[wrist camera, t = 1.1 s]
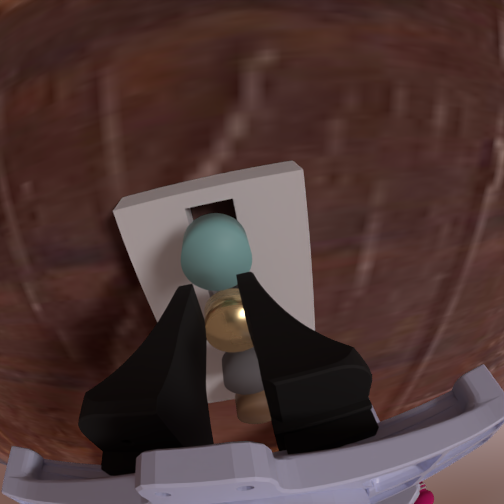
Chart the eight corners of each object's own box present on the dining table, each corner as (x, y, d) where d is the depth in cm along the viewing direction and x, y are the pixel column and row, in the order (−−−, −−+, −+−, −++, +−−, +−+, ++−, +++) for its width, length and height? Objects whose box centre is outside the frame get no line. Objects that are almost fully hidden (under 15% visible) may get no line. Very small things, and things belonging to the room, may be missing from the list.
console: (309, 362, 31) (316, 380, 29) (198, 385, 31) (199, 404, 28) (292, 160, 21) (303, 169, 18) (122, 197, 20) (112, 211, 18)
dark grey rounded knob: (267, 349, 25) (277, 388, 22) (225, 358, 25) (229, 398, 21) (261, 318, 23) (271, 359, 20) (215, 328, 23) (218, 370, 20)
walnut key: (273, 382, 28) (282, 418, 24) (236, 390, 28) (241, 426, 24) (269, 359, 26) (278, 398, 22) (228, 368, 26) (233, 407, 22)
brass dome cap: (258, 305, 23) (269, 345, 19) (210, 314, 23) (213, 356, 19) (250, 264, 21) (261, 303, 17) (198, 275, 21) (197, 315, 17)
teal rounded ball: (247, 245, 20) (257, 282, 17) (192, 257, 20) (191, 296, 16) (237, 193, 18) (245, 221, 15) (178, 206, 18) (172, 237, 15)
